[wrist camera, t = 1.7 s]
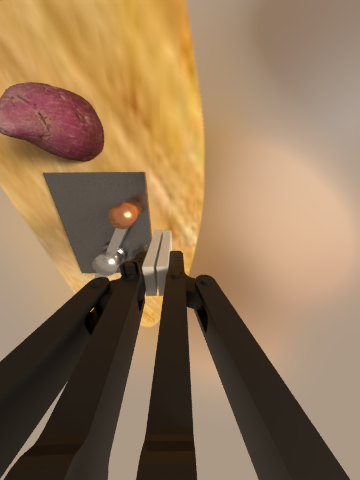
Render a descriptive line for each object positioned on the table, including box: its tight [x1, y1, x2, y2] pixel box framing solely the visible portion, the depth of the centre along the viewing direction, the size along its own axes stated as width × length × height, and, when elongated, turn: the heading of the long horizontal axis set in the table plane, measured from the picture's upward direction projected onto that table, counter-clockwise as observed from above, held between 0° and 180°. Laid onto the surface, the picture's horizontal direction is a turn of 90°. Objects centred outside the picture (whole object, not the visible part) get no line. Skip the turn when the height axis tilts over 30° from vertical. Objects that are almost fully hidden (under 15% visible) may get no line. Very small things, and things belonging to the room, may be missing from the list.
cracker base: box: [43, 172, 152, 273], centre depth 31 cm, size 25×20×7 cm
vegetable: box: [0, 82, 104, 161], centre depth 21 cm, size 10×10×15 cm
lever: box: [92, 199, 142, 279], centre depth 30 cm, size 22×5×7 cm, turn 150°
